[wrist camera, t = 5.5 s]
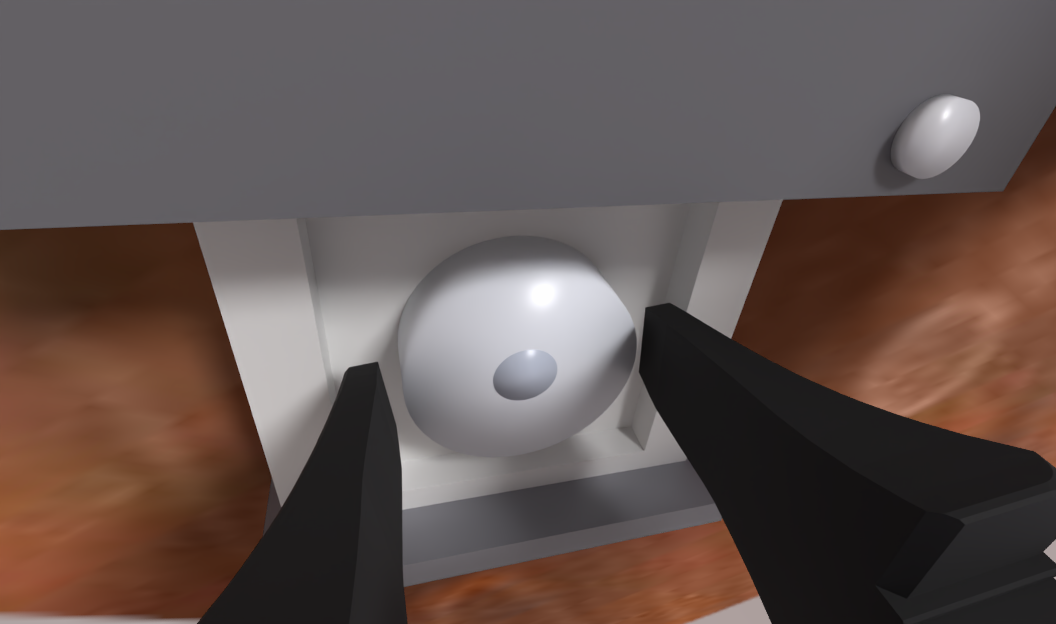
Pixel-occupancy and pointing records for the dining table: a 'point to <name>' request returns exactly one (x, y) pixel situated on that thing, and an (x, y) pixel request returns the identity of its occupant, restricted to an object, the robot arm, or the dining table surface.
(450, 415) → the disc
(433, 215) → the tray
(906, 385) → the dining table surface
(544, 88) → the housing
